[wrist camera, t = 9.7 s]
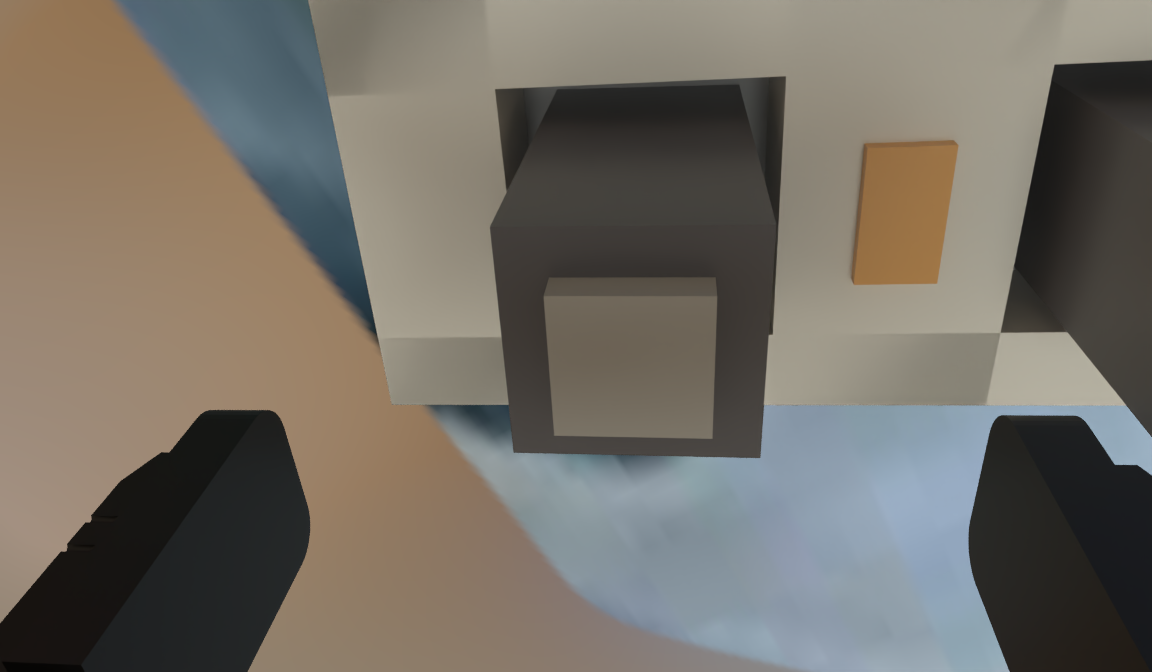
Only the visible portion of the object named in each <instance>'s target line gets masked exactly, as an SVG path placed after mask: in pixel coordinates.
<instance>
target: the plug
mask: <svg viewBox="0 0 1152 672" xmlns="http://www.w3.org/2000/svg"><path fill="white" fill-rule="evenodd" d="M490 234H491V244H492V253H493V262H494V272H495V281H496V290H497V300H498V309H499V319H500V328H501V337H502V347H503V356H504V365H505V375H506V384H507V394H508V403H509V412H510V422H511V431H512V440H513V450H514V453H557V454H602V455H648V456H694V457H739V458H760V454H761V439H762V425H763V410H764V396H765V381H766V367H767V353H768V338H769V324H770V309H771V295H772V281H773V266H774V252H775V237H776V221H775V217H774V214H773V210H772V206H771V202H770V199H769V195H768V191H767V187H766V184H765V180H764V176H763V172H762V168H761V165H760V161H759V157H758V153H757V150H756V146H755V142H754V138H753V135H752V131H751V127H750V123H749V120H748V116H747V112H746V108H745V104H744V101H743V97H742V93H741V89H740V86H739V85H702V86H664V87H626V88H588V89H557V91H556V93H555V95H554V97H553V99H552V101H551V103H550V105H549V107H548V109H547V111H546V113H545V115H544V117H543V119H542V121H541V123H540V125H539V127H538V129H537V131H536V133H535V135H534V138H533V140H532V142H531V144H530V146H529V148H528V150H527V152H526V154H525V156H524V158H523V160H522V162H521V164H520V166H519V168H518V170H517V172H516V174H515V176H514V178H513V180H512V182H511V184H510V186H509V189H508V191H507V193H506V195H505V197H504V199H503V201H502V203H501V205H500V207H499V209H498V211H497V213H496V215H495V217H494V219H493V221H492V223H491V225H490Z"/></svg>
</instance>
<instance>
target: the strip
mask: <svg viewBox="0 0 1152 672" xmlns="http://www.w3.org/2000/svg"><path fill="white" fill-rule="evenodd" d="M308 2H309V7H310V11H311V16H312V21H313V26H314V31H315V36H316V40H317V45H318V50H319V55H320V60H321V65H322V69H323V74H324V79H325V84H326V89H327V94H328V98H329V103H330V108H331V113H332V118H333V123H334V127H335V132H336V137H337V142H338V147H339V152H340V156H341V161H342V166H343V171H344V176H345V180H346V185H347V190H348V195H349V200H350V205H351V209H352V214H353V219H354V224H355V229H356V234H357V238H358V243H359V248H360V253H361V258H362V263H363V267H364V272H365V277H366V282H367V287H368V292H369V296H370V301H371V306H372V311H373V316H374V321H375V325H376V330H377V335H378V340H379V345H380V350H381V354H382V359H383V364H384V369H385V374H386V379H387V383H388V388H389V393H390V398H391V403H392V405H394V404H395V405H509V403H508V394H507V384H506V375H505V365H504V356H503V347H502V337H501V328H500V319H499V309H498V300H497V290H496V281H495V272H494V262H493V253H492V244H491V234H490V225H491V223H492V221H493V219H494V217H495V215H496V213H497V211H498V209H499V207H500V205H501V203H502V201H503V199H504V197H505V195H506V193H507V191H508V189H509V186H510V184H511V182H512V180H513V178H514V176H515V174H516V172H517V170H518V168H519V166H520V164H521V162H522V160H523V158H524V156H525V154H526V152H527V150H528V148H529V146H530V144H531V142H532V140H533V138H534V135H535V133H536V131H537V129H538V127H539V125H540V123H541V121H542V119H543V117H544V115H545V113H546V111H547V109H548V107H549V105H550V103H551V101H552V99H553V97H554V95H555V93H556V91H557V89H588V88H626V87H664V86H702V85H739V86H740V89H741V93H742V97H743V101H744V104H745V108H746V112H747V116H748V120H749V123H750V127H751V131H752V135H753V138H754V142H755V146H756V150H757V153H758V157H759V161H760V165H761V168H762V172H763V176H764V180H765V184H766V187H767V191H768V195H769V199H770V202H771V206H772V210H773V214H774V217H775V221H776V237H775V252H774V266H773V281H772V295H771V309H770V324H769V338H768V353H767V367H766V381H765V396H764V405H1126V404H1125V403H1124V402H1123V401H1122V399H1121V398H1120V397H1119V396H1118V394H1117V393H1116V392H1115V391H1114V389H1113V388H1112V387H1111V386H1110V384H1109V383H1108V382H1107V381H1106V380H1105V378H1104V377H1103V376H1102V375H1101V373H1100V372H1099V371H1098V370H1097V368H1096V367H1095V366H1094V365H1093V363H1092V362H1091V361H1090V360H1089V358H1088V357H1087V356H1086V355H1085V353H1084V352H1083V351H1082V350H1081V348H1080V347H1079V346H1078V345H1077V344H1076V342H1075V341H1074V340H1073V339H1072V337H1071V336H1070V335H1069V334H1068V332H1067V331H1066V330H1065V329H1064V327H1063V326H1062V325H1061V324H1060V322H1059V321H1058V320H1057V319H1056V317H1055V316H1054V315H1053V314H1052V312H1051V311H1050V310H1049V309H1048V308H1047V306H1046V305H1045V304H1044V303H1043V301H1042V300H1041V299H1040V298H1039V296H1038V295H1037V294H1036V293H1035V291H1034V290H1033V289H1032V288H1031V286H1030V285H1029V284H1028V283H1027V281H1026V280H1025V279H1024V278H1023V277H1022V275H1021V274H1020V273H1019V272H1018V270H1017V269H1016V268H1015V267H1014V263H1015V258H1016V253H1017V248H1018V243H1019V238H1020V233H1021V228H1022V223H1023V218H1024V213H1025V208H1026V204H1027V199H1028V194H1029V189H1030V184H1031V179H1032V174H1033V169H1034V164H1035V159H1036V154H1037V149H1038V144H1039V139H1040V134H1041V129H1042V124H1043V119H1044V114H1045V109H1046V104H1047V99H1048V94H1049V89H1050V84H1051V79H1052V74H1053V69H1054V65H1055V64H1078V63H1101V62H1123V61H1146V60H1152V0H308Z"/></svg>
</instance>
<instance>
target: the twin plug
mask: <svg viewBox="0 0 1152 672" xmlns="http://www.w3.org/2000/svg"><path fill="white" fill-rule="evenodd" d="M1014 267H1015V268H1016V269H1017V270H1018V272H1019V273H1020V274H1021V275H1022V277H1023V278H1024V279H1025V280H1026V281H1027V283H1028V284H1029V285H1030V286H1031V288H1032V289H1033V290H1034V291H1035V293H1036V294H1037V295H1038V296H1039V298H1040V299H1041V300H1042V301H1043V303H1044V304H1045V305H1046V306H1047V308H1048V309H1049V310H1050V311H1051V312H1052V314H1053V315H1054V316H1055V317H1056V319H1057V320H1058V321H1059V322H1060V324H1061V325H1062V326H1063V327H1064V329H1065V330H1066V331H1067V332H1068V334H1069V335H1070V336H1071V337H1072V339H1073V340H1074V341H1075V342H1076V344H1077V345H1078V346H1079V347H1080V348H1081V350H1082V351H1083V352H1084V353H1085V355H1086V356H1087V357H1088V358H1089V360H1090V361H1091V362H1092V363H1093V365H1094V366H1095V367H1096V368H1097V370H1098V371H1099V372H1100V373H1101V375H1102V376H1103V377H1104V378H1105V380H1106V381H1107V382H1108V383H1109V384H1110V386H1111V387H1112V388H1113V389H1114V391H1115V392H1116V393H1117V394H1118V396H1119V397H1120V398H1121V399H1122V401H1123V402H1124V403H1125V404H1126V406H1127V407H1128V408H1129V409H1130V411H1131V412H1132V413H1133V414H1134V415H1135V417H1136V418H1137V419H1138V420H1139V422H1140V423H1141V424H1142V425H1143V427H1144V428H1145V429H1146V430H1147V432H1148V433H1149V434H1150V435H1151V437H1152V60H1146V61H1123V62H1101V63H1078V64H1055V65H1054V69H1053V74H1052V79H1051V84H1050V89H1049V94H1048V99H1047V104H1046V109H1045V114H1044V119H1043V124H1042V129H1041V134H1040V139H1039V144H1038V149H1037V154H1036V159H1035V164H1034V169H1033V174H1032V179H1031V184H1030V189H1029V194H1028V199H1027V204H1026V208H1025V213H1024V218H1023V223H1022V228H1021V233H1020V238H1019V243H1018V248H1017V253H1016V258H1015V263H1014Z"/></svg>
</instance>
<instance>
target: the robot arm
mask: <svg viewBox="0 0 1152 672" xmlns="http://www.w3.org/2000/svg"><path fill="white" fill-rule="evenodd" d="M91 516H92V520H91V522H90V523H85V524H84V525H83V526H82V527H81V528H80V530H79V531H78V532H77V533H76V534H75V536H74V537H73V538H72V539H71V540H70V541H69V543H68V544H67V546H68V548H67V551H66V552H60V553H59V554H58V556H57V557H56V558H55V559H54V560H53V562H52V563H51V564H50V565H49V566H48V567H47V569H46V570H45V571H44V572H43V573H42V575H41V576H40V577H39V578H38V579H37V581H36V582H35V583H34V584H33V585H32V586H31V588H30V589H29V590H28V591H27V592H26V594H25V595H24V596H23V597H22V598H21V599H20V601H19V602H18V603H17V604H16V605H15V607H14V608H13V609H12V610H11V611H10V612H9V614H8V615H7V616H6V617H5V618H4V620H3V621H2V622H1V623H0V672H248V670H249V668H250V666H251V664H252V662H253V660H254V658H255V656H256V654H257V652H258V650H259V648H260V646H261V644H262V642H263V640H264V638H265V636H266V634H267V632H268V630H269V628H270V626H271V624H272V622H273V620H274V618H275V616H276V614H277V612H278V610H279V608H280V606H281V604H282V602H283V600H284V599H285V597H286V595H287V593H288V590H289V589H290V587H291V585H292V583H293V581H294V579H295V577H296V575H297V573H298V571H299V569H300V567H301V565H302V563H303V560H304V558H305V555H306V552H307V548H308V543H309V536H310V516H309V510H308V506H307V502H306V499H305V495H304V492H303V489H302V486H301V482H300V479H299V476H298V472H297V469H296V466H295V462H294V459H293V456H292V452H291V449H290V446H289V443H288V439H287V436H286V432H285V429H284V426H283V424H282V421H281V420H280V418H279V416H278V415H277V414H276V413H275V412H273V411H270V410H209V411H205V412H204V413H202V414H201V415H200V416H199V417H198V418H197V419H196V420H195V421H194V423H193V424H192V425H191V426H190V428H189V429H188V430H187V432H186V433H185V434H184V435H183V436H182V438H181V439H180V440H179V441H178V443H177V444H176V445H175V446H174V448H173V449H172V450H171V451H170V453H163V452H161V453H160V454H159V455H157V456H156V457H154V458H153V459H151V460H150V461H148V462H147V463H146V464H144V465H143V466H142V467H140V468H139V469H137V470H136V471H134V472H133V473H131V474H130V475H129V476H127V477H126V478H124V479H123V480H121V481H120V482H119V483H118V485H117V486H116V487H115V488H114V489H113V490H112V492H111V493H110V494H109V495H108V496H107V498H106V499H105V500H104V501H103V503H102V504H101V505H100V506H99V507H98V508H97V509H96V511H95V512H94V513H93V514H92V515H91ZM969 557H970V564H971V569H972V573H973V577H974V581H975V584H976V586H977V589H978V591H979V594H980V597H981V599H982V602H983V604H984V607H985V609H986V612H987V615H988V617H989V620H990V622H991V625H992V627H993V630H994V633H995V635H996V638H997V640H998V643H999V646H1000V648H1001V651H1002V653H1003V656H1004V658H1005V661H1006V664H1007V666H1008V669H1009V671H1010V672H1152V475H1150V474H1149V473H1148V472H1146V471H1145V470H1143V469H1142V468H1141V467H1139V466H1138V465H1115V464H1114V463H1113V462H1112V460H1111V459H1110V457H1109V456H1108V454H1107V453H1106V451H1105V450H1104V448H1103V447H1102V445H1101V444H1100V442H1099V441H1098V439H1097V438H1096V436H1095V435H1094V433H1093V432H1092V430H1091V429H1090V427H1089V426H1088V425H1087V423H1086V422H1085V421H1084V420H1083V419H1082V418H1080V417H1078V416H1014V415H1001V416H999V417H997V418H996V419H995V421H994V423H993V425H992V427H991V430H990V434H989V438H988V443H987V447H986V452H985V456H984V461H983V465H982V470H981V474H980V479H979V483H978V488H977V492H976V497H975V502H974V506H973V511H972V515H971V520H970V525H969Z"/></svg>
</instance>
